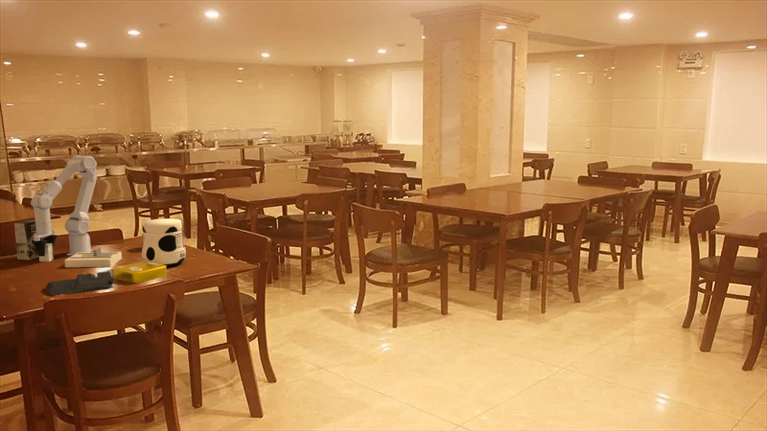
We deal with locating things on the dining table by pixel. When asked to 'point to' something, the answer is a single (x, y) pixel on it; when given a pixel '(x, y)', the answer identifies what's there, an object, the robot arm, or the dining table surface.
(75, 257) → the socket
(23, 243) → the coffee box
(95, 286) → the dark slate chunk
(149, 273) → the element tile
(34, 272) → the dining table surface
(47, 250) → the plug
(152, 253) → the milk container
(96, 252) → the shutter
